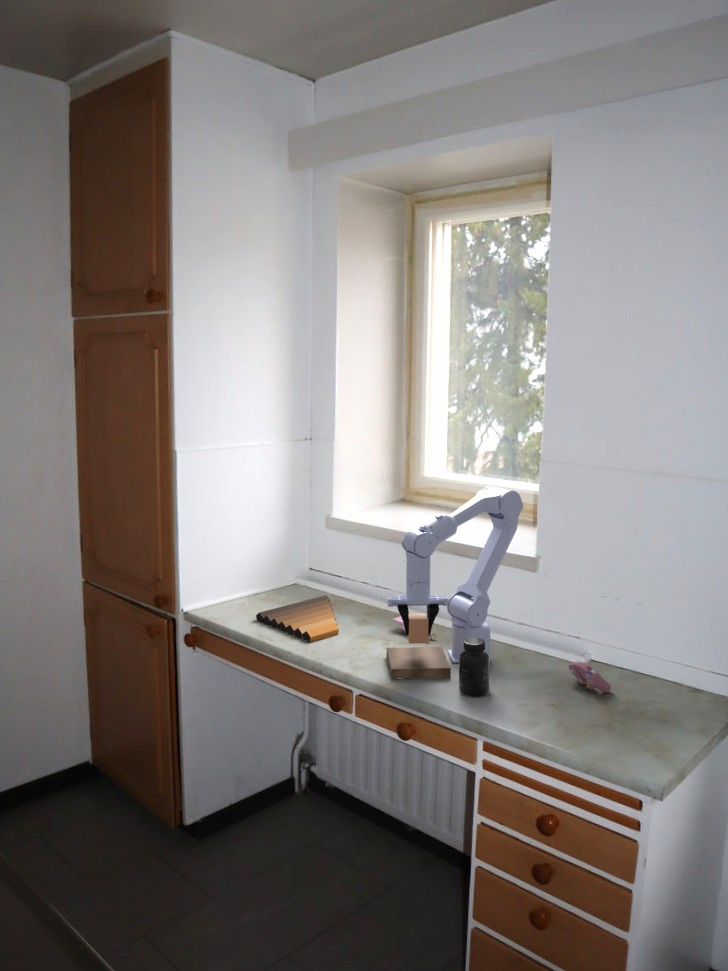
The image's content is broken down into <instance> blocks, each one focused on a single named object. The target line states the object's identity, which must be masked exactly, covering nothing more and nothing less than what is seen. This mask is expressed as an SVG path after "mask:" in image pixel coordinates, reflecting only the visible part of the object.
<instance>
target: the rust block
mask: <svg viewBox="0 0 728 971" xmlns="http://www.w3.org/2000/svg"><path fill="white" fill-rule="evenodd" d="M408 627H409V636H406V638H407V641H408V644H409V645H410V644H412V645H413V644H429V643H428V617H427V612H425V613H422V612H421V613H409V618H408Z"/></svg>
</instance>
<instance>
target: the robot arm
mask: <svg viewBox="0 0 728 971" xmlns="http://www.w3.org/2000/svg"><path fill="white" fill-rule="evenodd" d="M523 508H524V503H523V500H522V498H521V495H520V493H519V492H517V491H516V490H514V489H513V490H511V489H510V490H509V489H505V488H501V487H497V486H495V485H487V486H486V487H484V488H483V489H481V490H478V491H477V494H476V495H475V496H474V497H473V498H470V500H468V501H467V502H466V503H464V504H463V505H461V506H460V507H458V508H457V509H456V510H454V511H453V512H451V513H450V514H447V513H442V514H441V513H438V514H436V515H434V518H433V519H432V520H430V521H428V522H427V523H426V524H422V525H420V526H419V528H418V529H411V530H409V531H408V532H407V533H406V534H405V535H404V537H403V540H402V541H401V546H402V548H403V550H404V551H405V557H406V566H405V567H406V571H405V572H406V573H405V574H406V575H405V576H406V577H405V578H406V580H405V581H406V584H405V585H406V586H405V590H406V591H405V592H406V594H405V595H396V596H388V597H387V607H388V608H393V607H397V610H398V613H399V615H400V616H401V618H402V620H403V623H404V628H405V631H404V634H405V635H404V636H406V637H407V636H409V627H408V618H409V614H410V611H409V607H410V606H411V607H413V606H415V607H416V606H417V607H418V606H419V607H420V606H426V615H427V617H428V635H430V634H431V633H432V632H431V631H432V629H433V625H434V622H435V620H436V618H437V616H438V614H439V612H440V606H443V607H446V611H447V613H448V614H449V615H450V619H451V621H452V622H451V623H452V624H451V649H448V650H447V653H448V654H449V658H450V659H451V662H452V663H455V664H456V663H458V664H459V655H460V653H461V652H462V651H464V649H463V646H464V640H465V639H467V638H480V639H483V640H484V641H485V651H486V652H487V653H488V655H489V658H490V659H491V628H490V624H489V623H488V622H486V619H487V617H488V610H489V606H490V604H491V600H490V597H489V594H488V590H490V586H491V584H492V582H493V580H494V578H495V576H496V575H497V572H498V570H499V568H500V566H501V564H502V561H503V559H504V557H505V555H506V553H507V551H508V549H509V547H510V544H511V542H512V540H513V539H514V536H515V534H516V532H517V530H518V525H519V524H518V523H519V518H520V515H521V512H522V510H523ZM483 513H486V514H487V516H488V517H489V518H490V520H491V524H492V526H493V528H492V530H491V531H490V533H489V535H488V538H487V540H486V542H485V544H484V546H483V548H482V550H481V553H480V554H479V557H478V559H477V560H476V562H475V565H474V567H473V568H472V571H471V573H470V575H469V577H468V579H467V581H466V582H465V583H463V584H461V585H459V586H458V587H457V589H456V590H455V592H454V593H453V594H452V595H451V596H450V597H449V596H447V595H436V594H434V595H433V594H431V556H432V555H433V554H434V552H435V550H436V548H437V547H438V546H439V545H441V543H443V542H444V541H447V540H448V539H449V538H451V537H452V536H454V535H455V534H457V530H458V527H459V526H462V525H463V524H465V523H466V522H468V521H471V520H472V519H474V518H476V517H477V516H479V515H481V514H483Z"/></svg>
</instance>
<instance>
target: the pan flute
mask: <svg viewBox="0 0 728 971" xmlns="http://www.w3.org/2000/svg"><path fill="white" fill-rule="evenodd" d="M255 618H256V621H257V622H259V623H261V624H264V625H266V626H268V627H271V628H272V629H275V630H279V631H281V632H282V633H287V634H288V635H291V636H293V635H294V636H295V638H297V637H298V638H297V639H299V640H302V638H303V641H305V640H306V641H305V642H307V641H308V643H312V641H313V642H315V640H316V641H319V640H323V639H326V638H329V637H332V635H333V636H335V634H336V635H339V632H340V628H339V626H338V624H339V623H338V622H337V618H336V616H335V613H334V609H333V607H332V603H331V599H330V598H329V596H328V595H327V594H326V595H321V596H318V597H315V598H309V599H306V600H302V601H297V602H294V603H290V604H287V605H283V606H280V607H276V608H271V609H268V610H264V611H259V612H258V613H257V614H255ZM325 637H326V638H325ZM322 638H323V639H322Z"/></svg>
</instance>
